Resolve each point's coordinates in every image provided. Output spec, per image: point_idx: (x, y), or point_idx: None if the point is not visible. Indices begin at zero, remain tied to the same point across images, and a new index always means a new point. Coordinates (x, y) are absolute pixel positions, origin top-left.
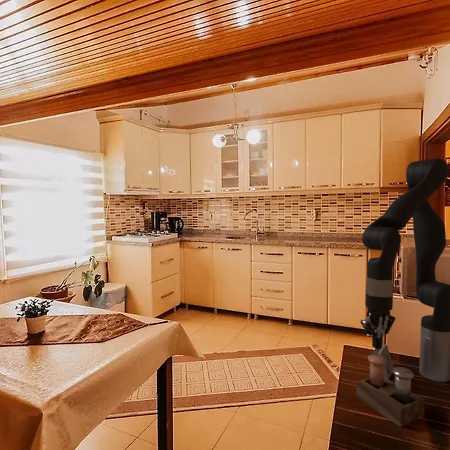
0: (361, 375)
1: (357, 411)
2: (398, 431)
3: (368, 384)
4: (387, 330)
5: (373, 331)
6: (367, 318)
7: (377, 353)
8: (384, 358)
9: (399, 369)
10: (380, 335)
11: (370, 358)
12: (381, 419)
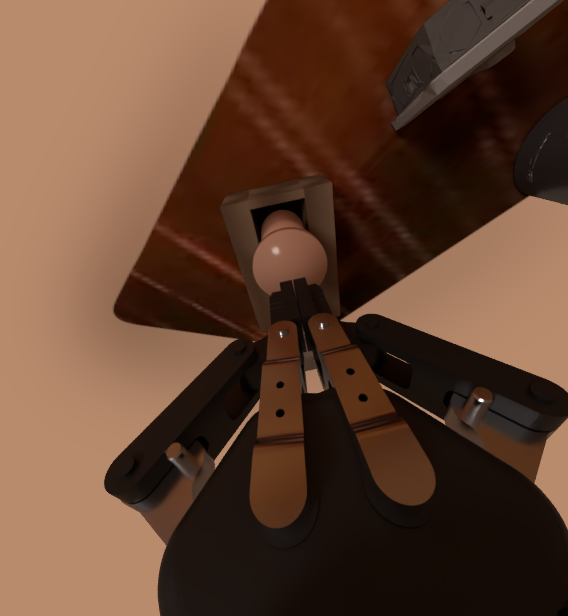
0: (334, 51)
1: (198, 249)
2: (249, 314)
3: (251, 231)
4: (378, 372)
5: (236, 414)
6: (163, 537)
7: (450, 49)
8: (320, 273)
9: (305, 342)
10: (304, 366)
11: (261, 260)
12: (239, 283)
